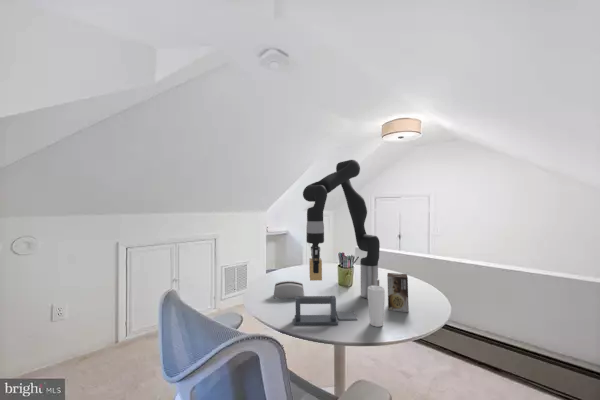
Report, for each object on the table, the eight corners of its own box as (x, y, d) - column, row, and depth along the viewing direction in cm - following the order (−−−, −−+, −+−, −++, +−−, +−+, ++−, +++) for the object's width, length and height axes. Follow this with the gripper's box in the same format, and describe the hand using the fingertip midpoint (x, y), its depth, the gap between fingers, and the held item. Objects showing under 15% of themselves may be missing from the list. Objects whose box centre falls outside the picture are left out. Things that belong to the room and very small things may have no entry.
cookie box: (407, 307, 124) (407, 273, 124) (408, 312, 118) (408, 277, 118) (387, 305, 127) (387, 272, 127) (387, 310, 121) (387, 275, 121)
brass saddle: (321, 277, 112) (320, 258, 113) (321, 280, 107) (321, 260, 107) (309, 277, 112) (309, 258, 113) (310, 280, 107) (309, 260, 107)
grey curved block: (304, 294, 143) (304, 279, 140) (304, 300, 138) (304, 284, 135) (274, 294, 143) (273, 279, 139) (273, 300, 138) (272, 284, 135)
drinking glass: (365, 321, 109) (365, 285, 110) (381, 320, 110) (380, 285, 110) (371, 328, 102) (370, 290, 103) (387, 327, 103) (387, 290, 103)
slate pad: (353, 312, 118) (353, 311, 118) (357, 320, 110) (357, 318, 110) (336, 312, 118) (336, 311, 118) (338, 320, 110) (338, 318, 110)
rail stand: (335, 317, 113) (335, 294, 113) (337, 325, 106) (337, 300, 106) (294, 317, 113) (294, 294, 113) (294, 325, 106) (294, 300, 106)
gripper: (325, 233, 103) (326, 275, 103) (322, 229, 117) (322, 267, 117) (306, 233, 103) (307, 275, 103) (306, 230, 117) (306, 267, 117)
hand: (315, 271), depth 110 cm, fingers closed on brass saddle, 5 cm apart
